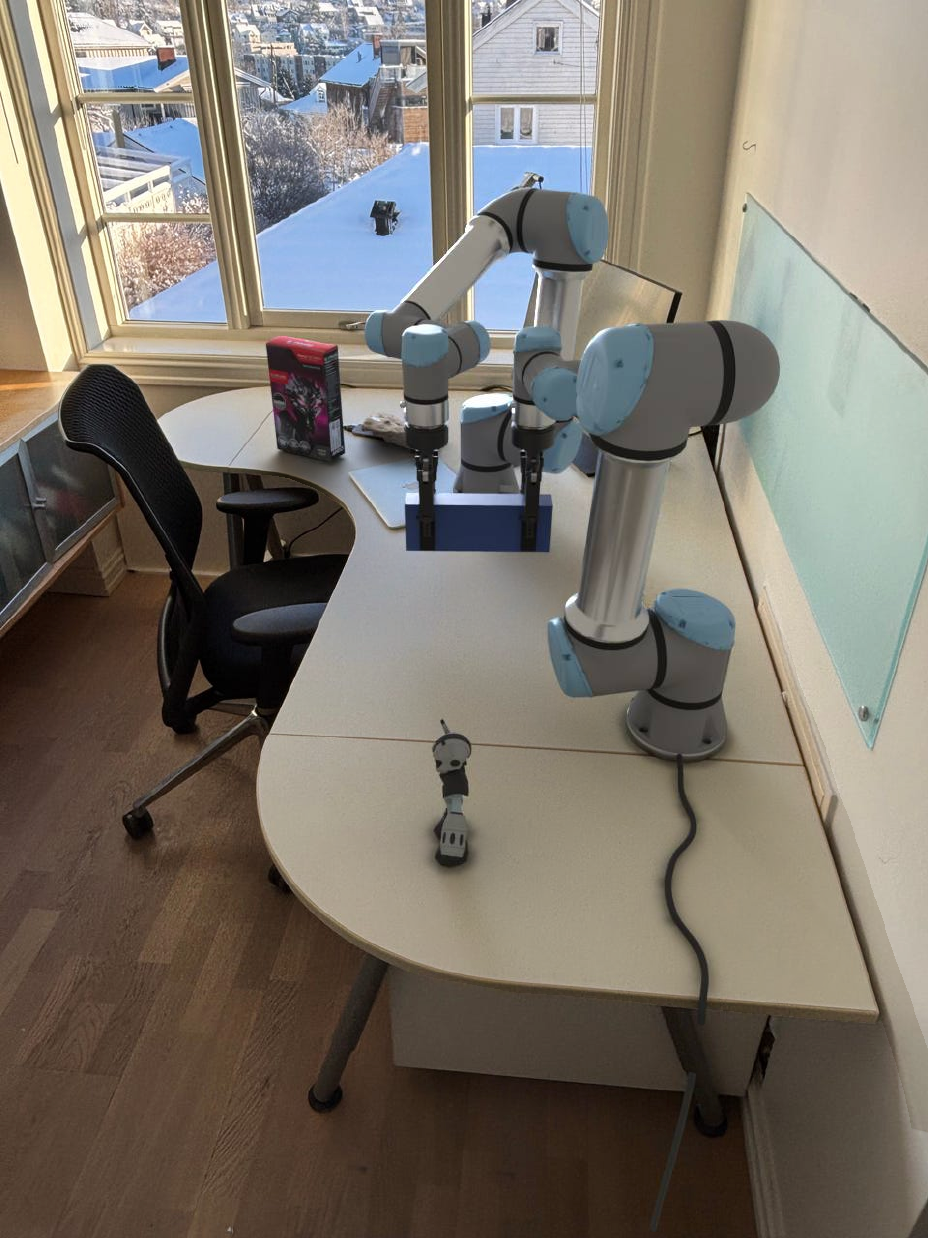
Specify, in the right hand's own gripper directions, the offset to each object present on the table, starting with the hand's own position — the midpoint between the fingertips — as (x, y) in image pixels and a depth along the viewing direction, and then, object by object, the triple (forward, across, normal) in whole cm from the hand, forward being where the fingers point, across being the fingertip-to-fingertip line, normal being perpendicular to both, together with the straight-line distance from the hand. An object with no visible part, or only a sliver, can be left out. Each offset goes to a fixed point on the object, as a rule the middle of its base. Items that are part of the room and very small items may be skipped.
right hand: (527, 542), depth 168 cm
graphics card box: (+12, -66, -50) cm, 84 cm away
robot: (+12, +62, -13) cm, 64 cm away
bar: (+1, 0, -9) cm, 9 cm away
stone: (+12, -73, -28) cm, 79 cm away
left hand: (0, 0, -18) cm, 18 cm away
